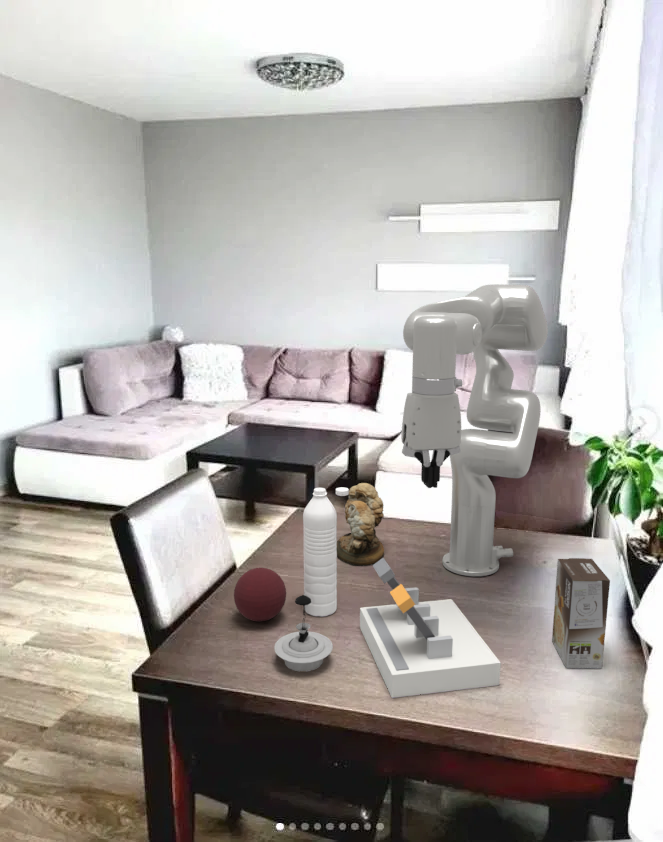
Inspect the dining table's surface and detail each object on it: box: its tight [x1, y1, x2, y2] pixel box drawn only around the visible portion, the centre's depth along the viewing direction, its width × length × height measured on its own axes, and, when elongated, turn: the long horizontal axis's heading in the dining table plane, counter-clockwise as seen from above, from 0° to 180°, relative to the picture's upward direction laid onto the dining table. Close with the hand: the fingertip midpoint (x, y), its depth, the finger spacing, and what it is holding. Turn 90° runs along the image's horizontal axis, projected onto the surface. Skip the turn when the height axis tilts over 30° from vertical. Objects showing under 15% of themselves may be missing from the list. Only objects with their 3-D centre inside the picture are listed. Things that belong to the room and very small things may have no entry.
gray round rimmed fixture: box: [274, 594, 334, 672], centre depth 114 cm, size 12×10×10 cm
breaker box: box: [359, 586, 502, 699], centre depth 117 cm, size 18×22×7 cm
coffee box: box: [551, 557, 611, 670], centre depth 116 cm, size 9×6×16 cm
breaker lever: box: [389, 583, 435, 640], centre depth 111 cm, size 2×5×11 cm
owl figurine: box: [336, 482, 385, 567], centre depth 160 cm, size 18×12×17 cm, turn 5°
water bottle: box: [302, 486, 350, 617], centre depth 131 cm, size 9×6×25 cm
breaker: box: [372, 557, 401, 590], centre depth 122 cm, size 2×5×11 cm
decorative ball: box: [233, 567, 287, 622], centre depth 129 cm, size 10×10×10 cm
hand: (430, 485), depth 123 cm, fingers closed
